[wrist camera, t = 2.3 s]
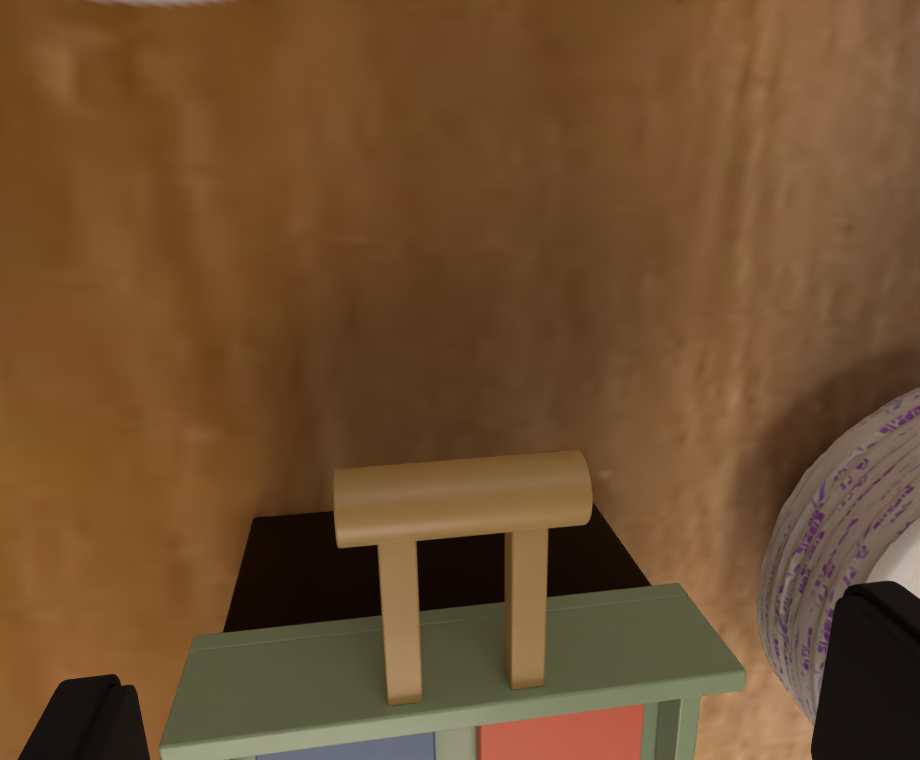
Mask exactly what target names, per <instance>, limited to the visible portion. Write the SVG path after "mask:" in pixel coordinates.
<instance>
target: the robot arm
mask: <svg viewBox="0 0 920 760" xmlns="http://www.w3.org/2000/svg"><path fill="white" fill-rule="evenodd" d="M811 755H812V760H920V599H919V598H918V597H917V596H915V595H914V594H913V593H911V592H910V591H909V590H907V589H906V588H905V587H903V586H902V585H900V584H898V583H897V582H895V581H888V580H887V581H879V582H871V583H862V584H854V585H851V586H848V588H847V589H846V590H845V591H844V594H843V597H841V598H839V599H838V600H837V601H836V604H835V607H834V613H833V619H832V625H831V631H830V637H829V643H828V649H827V655H826V661H825V667H824V673H823V679H822V684H821V690H820V696H819V702H818V708H817V714H816V720H815V726H814V732H813V738H812V744H811ZM18 760H150V757H149V752H148V747H147V741H146V736H145V731H144V726H143V721H142V716H141V711H140V706H139V701H138V695H137V692H136V689H135V687H134V686H133V685H125V686H121V683H120V680H119V678H118V677H117V675H114V674H110V675H102V676H94V677H86V678H77V679H69V680H65V681H63V682H61V683H60V684H59V686H58V687H57V689H56V690H55V692H54V694H53V696H52V698H51V699H50V701H49V703H48V705H47V707H46V709H45V710H44V712H43V714H42V716H41V718H40V720H39V721H38V723H37V725H36V727H35V729H34V731H33V732H32V734H31V736H30V738H29V740H28V742H27V743H26V745H25V747H24V749H23V751H22V753H21V754H20V756H19V758H18Z"/></svg>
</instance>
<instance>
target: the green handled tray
mask: <svg viewBox="0 0 920 760" xmlns="http://www.w3.org/2000/svg"><path fill="white" fill-rule="evenodd" d="M592 506H593V492H592V482H591V477H590V472H589V468H588V465H587V462H586V460H585V458H584V456H583V454H582V453H581V452H580V451H578V450H565V451H552V452H540V453H527V454H515V455H502V456H490V457H477V458H465V459H452V460H440V461H427V462H415V463H402V464H390V465H377V466H365V467H352V468H340V469H335V470H334V471H333V508H334V523H335V535H336V542H337V546H338V548H348V547H359V546H369V545H377V548H378V564H379V580H380V596H381V611H382V615H381V616H372V617H363V618H354V619H345V620H336V621H327V622H318V623H308V624H299V625H290V626H281V627H272V628H263V629H254V630H245V631H235V632H226V633H217V634H208V635H199V636H194V638H193V642H192V645H191V648H190V651H189V652H190V653H189V655H188V658H187V661H186V664H185V667H184V671H183V674H182V677H181V680H180V683H179V686H178V689H177V692H176V695H175V698H174V701H173V704H172V708H171V711H170V714H169V717H168V720H167V723H166V726H165V729H164V732H163V735H162V738H161V742H160V745H159V752H160V758H161V760H256V758H255V756H258V755H265V754H273V753H280V752H287V751H295V750H302V749H310V748H317V747H325V746H332V745H340V744H347V743H355V742H362V741H370V740H377V739H384V738H392V737H399V736H407V735H414V734H422V733H429V732H435V750H436V760H476V726H481V725H489V724H496V723H504V722H511V721H519V720H526V719H534V718H541V717H549V716H556V715H564V714H571V713H578V712H586V711H593V710H601V709H608V708H616V707H623V706H631V705H638V704H645V705H644V717H643V730H642V742H641V755H640V760H694V755H695V746H696V737H697V728H698V718H699V709H700V700H701V696H705V695H713V694H720V693H728V692H735V691H742V690H743V689H744V685H745V678H746V670H745V669H744V667H743V666H742V665H741V663H740V662H739V661H738V660H737V658H736V657H735V656H734V654H733V653H732V652H731V650H730V649H729V648H728V647H727V645H726V644H725V643H724V641H723V640H722V639H721V638H720V636H719V635H718V634H717V632H716V631H715V630H714V628H713V627H712V626H711V625H710V623H709V622H708V621H707V619H706V618H705V617H704V616H703V614H702V613H701V612H700V610H699V609H698V608H697V606H696V605H695V604H694V603H693V601H692V600H691V599H690V597H688V594H687V593H686V592H685V590H684V589H683V588H682V586H681V585H680V584H679V583H673V584H664V585H655V586H646V587H637V588H628V589H619V590H609V591H600V592H591V593H582V594H573V595H564V596H555V597H547V567H548V528H558V527H568V526H579V525H585V524H587V523H588V522H589V520H590V517H591V513H592ZM495 533H505V602H500V603H491V604H482V605H473V606H464V607H454V608H445V609H436V610H427V611H419V587H418V564H417V541H422V540H432V539H443V538H453V537H463V536H474V535H484V534H495Z"/></svg>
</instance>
